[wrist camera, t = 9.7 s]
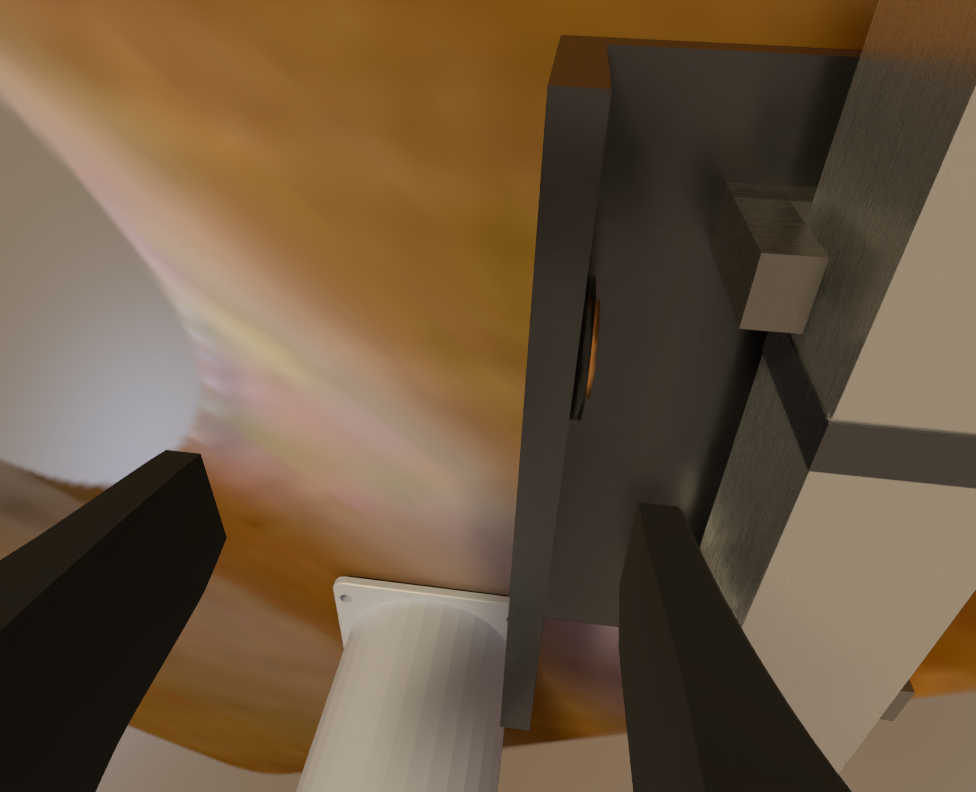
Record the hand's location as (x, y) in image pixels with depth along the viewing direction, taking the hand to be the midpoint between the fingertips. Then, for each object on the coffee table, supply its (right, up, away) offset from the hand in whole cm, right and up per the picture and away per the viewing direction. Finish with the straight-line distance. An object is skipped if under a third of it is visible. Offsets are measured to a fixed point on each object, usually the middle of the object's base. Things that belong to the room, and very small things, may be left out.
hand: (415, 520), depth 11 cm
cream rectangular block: (+10, +1, +7) cm, 12 cm away
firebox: (+10, +1, +9) cm, 14 cm away
